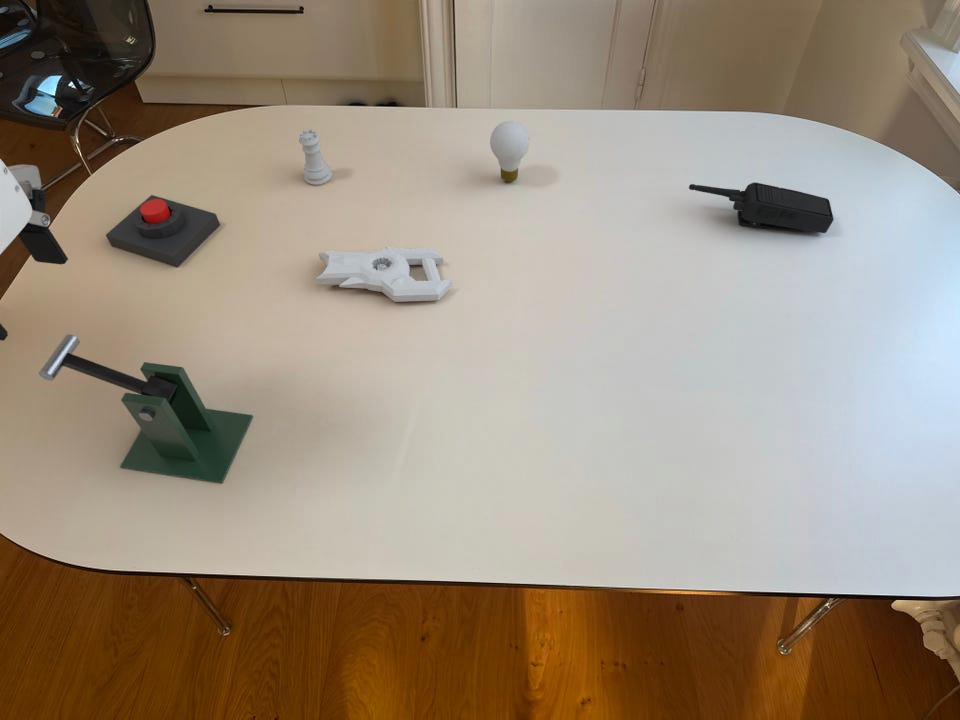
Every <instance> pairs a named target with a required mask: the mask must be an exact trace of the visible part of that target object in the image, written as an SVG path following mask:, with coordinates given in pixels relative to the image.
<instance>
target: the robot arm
mask: <svg viewBox="0 0 960 720" xmlns="http://www.w3.org/2000/svg"><path fill="white" fill-rule="evenodd" d="M41 180H42V179H41V174H40V170H39V167H38V166H37V165H33V164H23V163H22V164H16V165H10V166H7V165H6V164H5V162H4V161H3V160H2V159H1V158H0V255H1V254H2V253H3V252H4V251H5V250H6V249H7V248H8V247H9V246H10V245H11V244H12V242H13V241H14V240H15V239H16V237H17V236H18V238H19V240H20V241H21V243H22V244H23V245H24V247H25V248H26V250H27V251H28V252H29V255H30V256H31V257H32V258H33V260H34V261H35V262H36V263H44V264H52V265H65V264H66V263H67V261H68V260H69V258H68V256H67V255H66V253H65V251H64V250H63V249H62V247H61V245H60V243H59V242H58V241H57V239H56V238H55V236H54V234H53V233H52V231H51V229H50V228H49V227H48V226H49V225H50V224H51V217H50V215H49V214H48V213H46V201H47V199H46V198H47V197H46V192H45V191H44V190H43V189H42V187H43V185H42V181H41ZM8 333H9V331H7V330H6V328H5V327H4V326H3V324H2V323H0V341H5V340H6V339H7V338H8V336H9V334H8Z"/></svg>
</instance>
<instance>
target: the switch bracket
mask: <svg viewBox="0 0 960 720" xmlns="http://www.w3.org/2000/svg"><path fill="white" fill-rule="evenodd" d="M139 369H140V372H141V373H142V375H143V377H144V378H145V379H146V380H145V381H146V382H147V381H148V379H149V377H150V376H151V375H152V376H155V377H158V378H161V379H163V380H166V381H169V382H171V383H174V384H177V385H178V386H177V393H176V397H175V399H174V401H173V402H172V404H171V406H170V404H169V403H168V401H167V399H166V398H161V397H154V396H147V395H141V394H138V393H134V392H132V393H131V392H124V394H123V395H122V398H121V399H120V401H121V402H122V404H123V405H124V407H125V408H126V409H127V411H128V413H129V414H130V415H131V417H132V418H133V420H134V421H135V423H136V424H137V425H138V427H139V428H140V431H139V433H138V435H137V436H136V438H135V440H134V442H133V444H132V445H131V446H130V449H129V451H128V452H127V454H126V455H125V457H124V458H123V461H122V462H121V464H120V468H121V469H124V470H130V471H138V472H142V473H143V472H144V473H151V474H156V475H162V476H170V477H175V478H181V479H182V478H183V479H189V480H195V481H202V482H209V483H216V484H224V482H225V480H226V477H227V475H228V473H229V471H230V470H231V469H230V468H231V466H232V464H233V462H234V460H235V458H236V456H237V453H238V451H239V449H240V447H241V444H242V442H243V440H244V438H245V436H246V433H247V431H248V429H249V428H250V425H251V423H252V421H253V419H254V415H253V414H247V413H241V412H234V411H226V410H220V409H212V408H206V406H205V404H204V402H203V401H202V399H201V397H200V395H199V394H198V392H197V389H196V388H195V386H194V385H193V382H192V381H191V379H190V377H189V375H188V374H187V372H186V369H185V368H184V367H183V366H176V365H168V364H161V363H153V362H146V361H144V362H143V363H142V365H141V367H140V368H139Z"/></svg>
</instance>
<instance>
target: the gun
mask: <svg viewBox="0 0 960 720" xmlns="http://www.w3.org/2000/svg"><path fill="white" fill-rule="evenodd" d="M318 259H319V260H320V261H321V262H322V263H324V264H325V265H326V268H325V270H324V271H323V272H322V273H321V274H320V275H318V276H317V277H315V282H316V285H319V286H339V288H348V289H349V288H350V289H366V290H369V291H373V292H379V293H380V292H381V293H383V294H384V295H385V296H386V297H388V298H389V299H390V300H391V301H393V302H398V303H399V302H432V301H439V300H440V299H441V298H442V297H444V295H445V294H446V293H447V292H448V291H449V290H451V288H453V280H449V279H448V280H447V279H441V276H440V273H439V270H438V267H437V265H443V264H444V258H443V256H442V255H440V254H439V252H438V251H437V250H435V248H433V247H418V248H417V247H416V248H398V247H392V246H385V248H382V249H381V248H380V249H377V250H372V251H371V250H370V251H336V250H326V251H325V252H318ZM421 265H422V269H423V272H424V274H425V277H426V279H427V280H416V279H415V278H414V277H412V276H411V275H410V272H411V271H410V268H411V267H410V266H421Z"/></svg>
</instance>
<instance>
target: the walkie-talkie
mask: <svg viewBox="0 0 960 720" xmlns="http://www.w3.org/2000/svg"><path fill="white" fill-rule="evenodd" d="M688 189H689V190H690V191H696V192H701V193H706V194H712V195H716V196H722V197H725V198H728V201H730V202H734V203H733V206H732V209H733V210H734V211H737V223H738V225H740V226H743V227H744V226H745V227H750V228H755V229H756V228H757V229H765V230H766V229H767V230H778V231H788V232H799V233H802V232H804V231H806V232H813V233H819V234H826V233H827V232H828V231H829V229H830V227H831V225H832V224H833V222H834V220H835V219H834V215H833V210H832V207H831V201H830V199H828V198H827V197H822V196H819V195H816V194H815V195H814V194H810V193H806V192H802V191H800V190H794V189H789V188H785V187H779V186H775V185H770V184H766V183H760V182H751V183H749V184H747V186H746V187H745V189H744V190H740V189H735V188H723V187H715V186H707V185H702V184H701V185H700V184H694V183H690V184H689V186H688Z"/></svg>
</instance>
